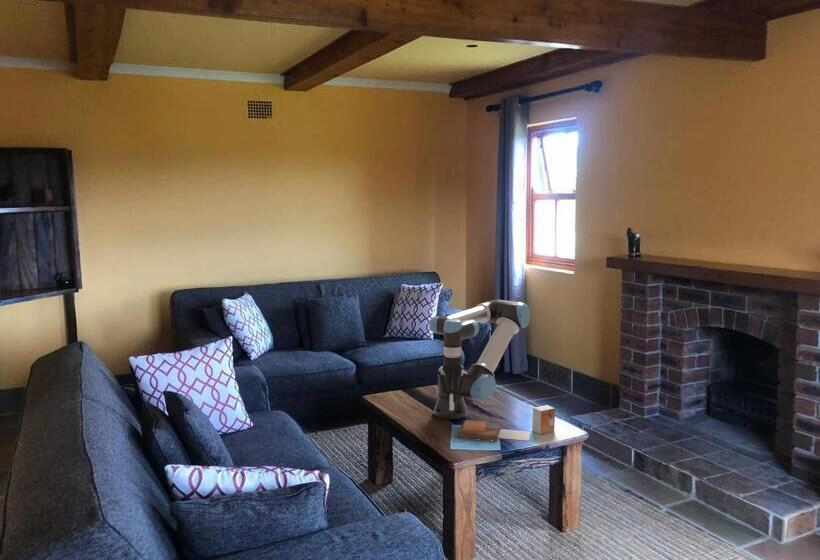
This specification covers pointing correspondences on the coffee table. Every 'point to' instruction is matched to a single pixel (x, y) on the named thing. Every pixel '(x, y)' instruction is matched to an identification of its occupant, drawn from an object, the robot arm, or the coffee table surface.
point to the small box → (543, 419)
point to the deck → (481, 432)
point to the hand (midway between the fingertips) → (451, 409)
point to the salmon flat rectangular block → (475, 425)
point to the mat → (514, 435)
